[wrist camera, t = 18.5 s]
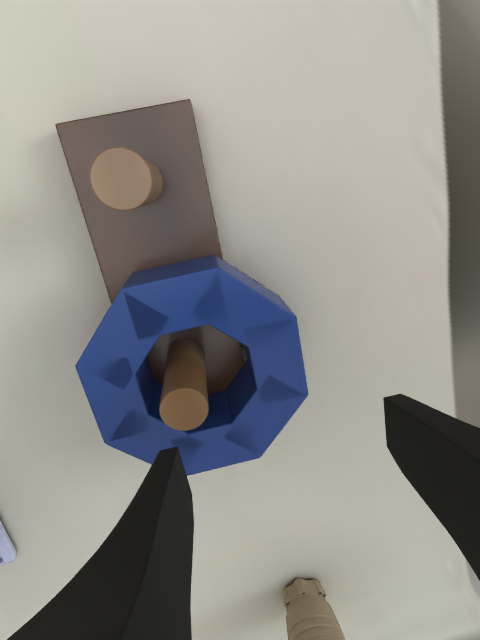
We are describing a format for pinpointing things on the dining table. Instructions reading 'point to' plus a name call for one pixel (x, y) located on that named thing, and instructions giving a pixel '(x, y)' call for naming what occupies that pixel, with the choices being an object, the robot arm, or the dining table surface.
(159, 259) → the rack
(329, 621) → the handle
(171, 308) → the ring
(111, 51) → the dining table surface
